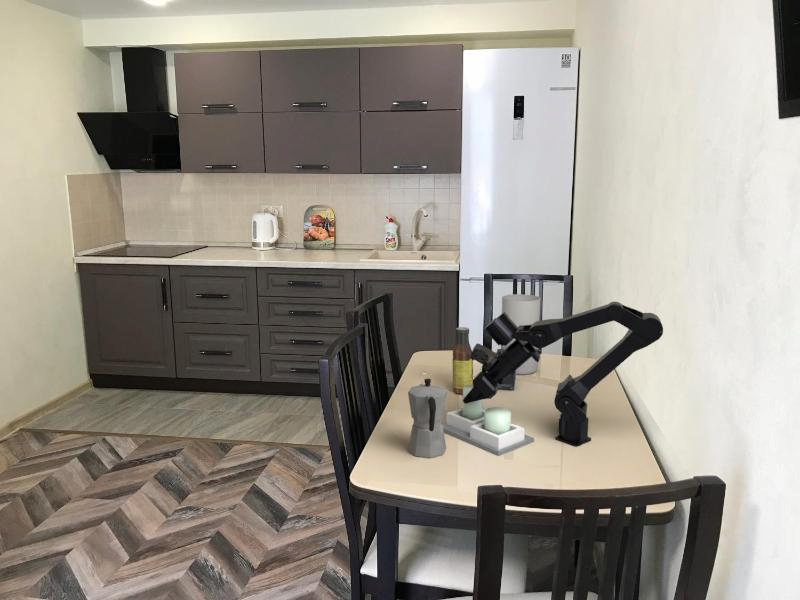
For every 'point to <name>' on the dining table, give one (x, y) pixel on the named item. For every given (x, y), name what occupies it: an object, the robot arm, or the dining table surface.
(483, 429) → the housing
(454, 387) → the sauce bottle
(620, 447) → the dining table surface
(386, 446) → the dining table surface
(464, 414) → the pale green rounded block
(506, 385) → the small box
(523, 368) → the cylinder vase
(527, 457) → the dining table surface
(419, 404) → the coffeepot
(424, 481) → the dining table surface
